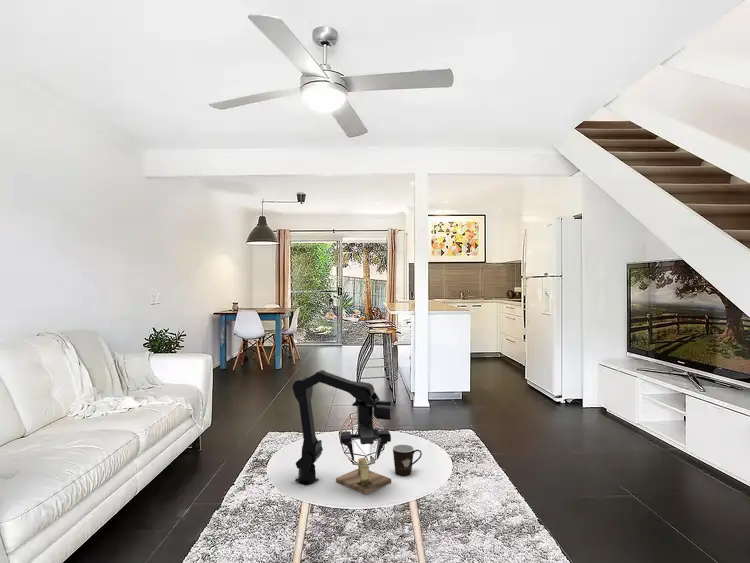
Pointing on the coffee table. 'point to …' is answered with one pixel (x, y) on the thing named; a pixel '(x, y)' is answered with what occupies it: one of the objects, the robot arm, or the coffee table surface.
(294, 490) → the coffee table surface
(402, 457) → the coffee mug
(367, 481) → the brass pin
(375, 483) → the pin board
